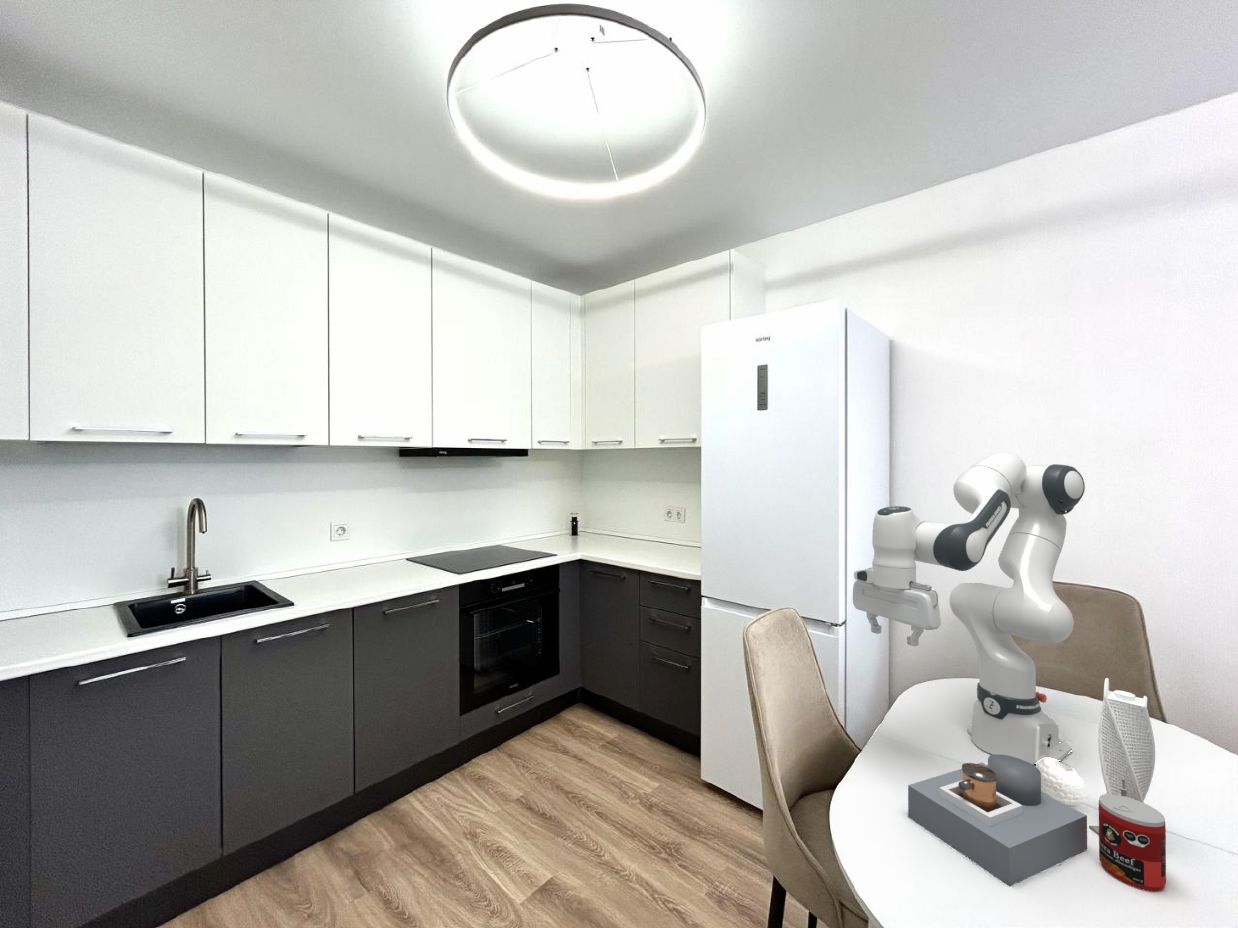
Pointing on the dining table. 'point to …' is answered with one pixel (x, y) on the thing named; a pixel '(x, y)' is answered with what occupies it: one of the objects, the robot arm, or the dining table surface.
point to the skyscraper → (1125, 745)
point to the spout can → (979, 786)
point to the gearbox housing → (1001, 820)
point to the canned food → (1132, 842)
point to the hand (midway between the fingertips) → (893, 638)
